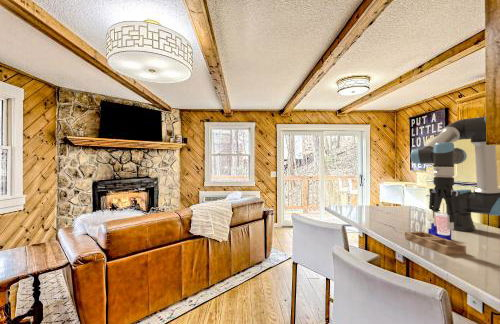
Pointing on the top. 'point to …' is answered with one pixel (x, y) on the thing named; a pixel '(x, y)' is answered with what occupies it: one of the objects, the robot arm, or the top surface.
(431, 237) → the wooden holder tray
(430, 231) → the blue notched block
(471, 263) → the top surface
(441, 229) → the beverage cup
